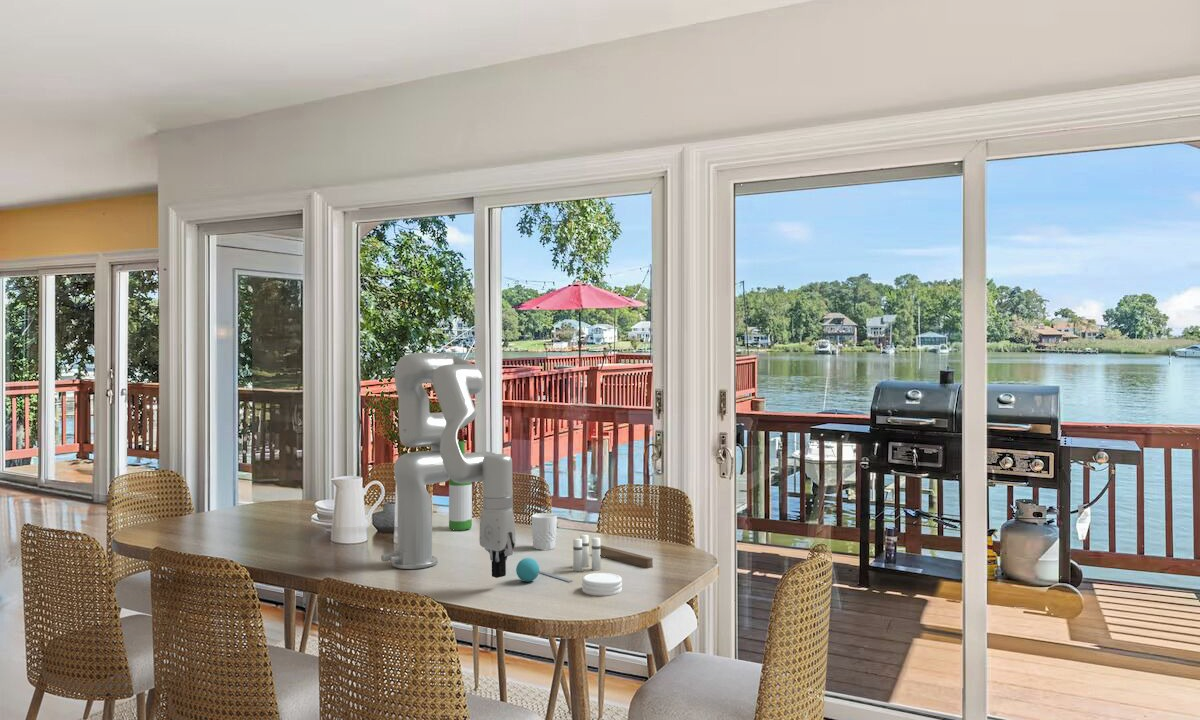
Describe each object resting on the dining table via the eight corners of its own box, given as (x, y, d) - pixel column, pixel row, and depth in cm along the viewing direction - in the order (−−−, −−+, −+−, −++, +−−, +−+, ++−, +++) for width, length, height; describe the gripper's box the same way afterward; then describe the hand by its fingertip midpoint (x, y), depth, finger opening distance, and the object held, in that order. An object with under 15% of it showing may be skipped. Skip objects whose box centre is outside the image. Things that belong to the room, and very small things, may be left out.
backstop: (647, 568, 225) (647, 559, 225) (595, 554, 241) (595, 546, 241) (652, 567, 226) (652, 558, 226) (600, 553, 242) (600, 545, 242)
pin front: (577, 572, 220) (577, 540, 221) (571, 570, 222) (571, 539, 222) (584, 570, 222) (584, 539, 222) (578, 568, 224) (578, 538, 224)
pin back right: (595, 571, 222) (595, 539, 222) (589, 569, 223) (589, 538, 224) (602, 569, 223) (602, 538, 223) (596, 567, 225) (596, 537, 225)
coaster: (574, 592, 201) (574, 578, 201) (596, 583, 210) (596, 570, 210) (607, 599, 196) (607, 584, 196) (629, 589, 204) (629, 575, 204)
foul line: (569, 582, 210) (569, 581, 210) (532, 570, 222) (532, 570, 222) (572, 581, 211) (572, 580, 211) (535, 570, 223) (535, 569, 223)
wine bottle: (476, 528, 280) (476, 441, 280) (461, 532, 273) (461, 443, 274) (459, 526, 284) (459, 440, 284) (444, 529, 277) (444, 442, 278)
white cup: (543, 544, 255) (543, 512, 255) (562, 547, 250) (562, 515, 250) (526, 548, 249) (526, 515, 249) (544, 552, 244) (544, 518, 244)
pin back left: (583, 567, 225) (583, 537, 225) (578, 565, 227) (578, 535, 227) (590, 566, 227) (590, 535, 227) (584, 564, 229) (584, 534, 229)
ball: (525, 585, 207) (525, 562, 207) (511, 581, 211) (511, 558, 211) (543, 581, 211) (543, 558, 211) (530, 577, 215) (530, 554, 215)
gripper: (469, 502, 208) (470, 574, 207) (502, 508, 197) (503, 584, 196) (493, 498, 213) (494, 569, 212) (527, 504, 202) (528, 579, 201)
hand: (498, 576), depth 204 cm, fingers closed
